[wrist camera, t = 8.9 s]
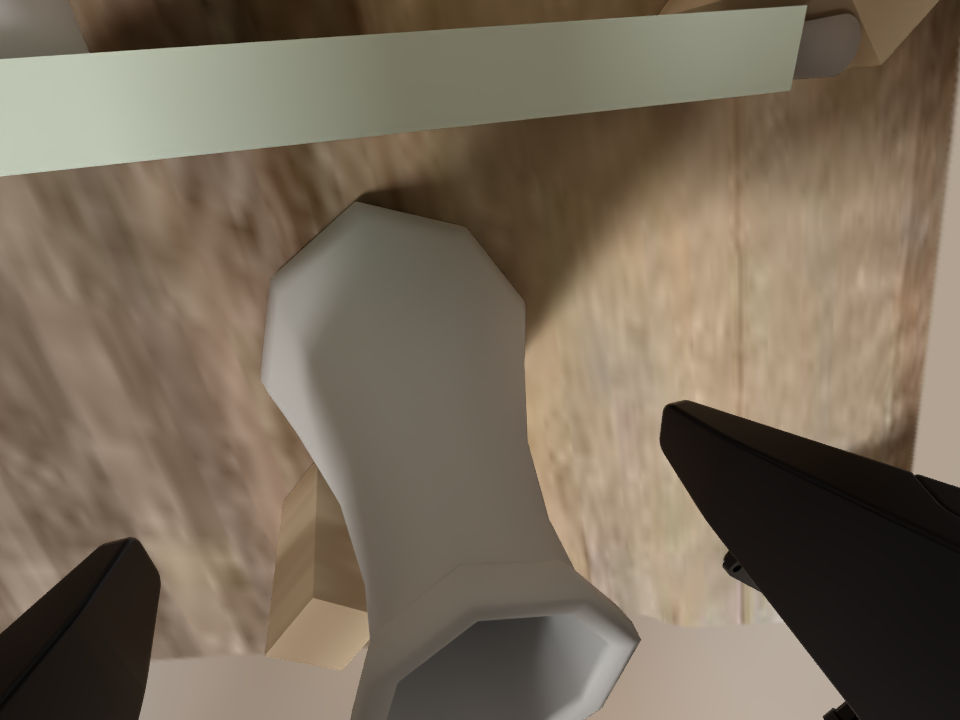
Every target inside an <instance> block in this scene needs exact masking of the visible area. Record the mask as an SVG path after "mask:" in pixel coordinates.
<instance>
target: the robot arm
mask: <svg viewBox="0 0 960 720" xmlns="http://www.w3.org/2000/svg"><path fill="white" fill-rule="evenodd" d="M660 445H661V449H662V451H663V453H664V455H665V456H666V458H667V459H668V461H669V463H670V464H671V466H672V467H673V469H674V471H675V472H676V474H677V475H678V477H679V479H680V480H681V482H682V483H683V485H684V487H685V488H686V490H687V491H688V493H689V495H690V496H691V498H692V499H693V501H694V503H695V504H696V506H697V507H698V509H699V510H700V512H701V513H702V515H703V516H704V518H705V519H706V521H707V522H708V523H709V525H710V526H711V527H712V529H713V530H714V532H715V533H716V534H717V535H718V537H719V538H720V539H721V541H722V542H723V543H724V544H725V546H726V547H727V548H728V550H729V551H730V552H731V553H732V554H731V555H730V556H729V557H728V558H727V559H726V560H725V561H724V563H723V568H724V569H725V570H726V572H727V573H728V574H729V575H730V576H732V577H734V578H735V579H737V580H739V581H741V582H743V583H745V584H747V585H749V586H750V587H752V588H754V589H756V590H758V591H760V592H762V594H763V595H764V596H765V597H766V599H767V600H768V601H769V603H770V604H771V605H772V606H773V608H774V609H775V610H776V612H777V613H778V614H779V616H780V617H781V618H782V619H783V621H784V622H785V623H786V625H787V626H788V627H789V628H790V630H791V631H792V632H793V633H794V635H795V636H796V638H797V639H798V640H799V641H800V643H801V644H802V645H803V647H804V648H805V649H806V650H807V652H808V653H809V654H810V656H811V657H812V658H813V659H814V661H815V662H816V663H817V665H818V666H819V667H820V669H821V670H822V671H823V672H824V673H825V675H826V676H827V678H828V679H829V680H830V681H831V683H832V684H833V685H834V687H835V688H836V689H837V690H838V692H839V693H840V694H841V695H842V697H843V698H844V700H845V702H844V703H843V704H842V705H840V706H839V707H838V708H837V709H834V708H832V709H831V710H830V711H829V712H828V713H826V714H825V715H824V716H823V718H824V720H960V488H959V487H956V486H953V485H949V484H946V483H943V482H940V481H937V480H934V479H931V478H928V477H925V476H922V475H914V474H913V473H911V472H909V471H906V470H903V469H900V468H897V467H894V466H890V465H887V464H884V463H881V462H878V461H875V460H872V459H869V458H866V457H863V456H859V455H856V454H853V453H850V452H847V451H844V450H841V449H838V448H835V447H832V446H828V445H825V444H822V443H819V442H816V441H813V440H810V439H807V438H804V437H801V436H797V435H794V434H791V433H788V432H785V431H782V430H779V429H776V428H773V427H770V426H766V425H763V424H760V423H757V422H754V421H751V420H748V419H745V418H742V417H739V416H736V415H732V414H729V413H726V412H723V411H720V410H717V409H714V408H711V407H708V406H705V405H701V404H698V403H695V402H692V401H689V400H682V401H678V402H674V403H670V404H667V405H666V406H665V407H664V409H663V415H662V423H661V431H660ZM160 586H161V582H160V576H159V572H158V570H157V568H156V567H155V565H154V564H153V562H152V560H151V559H150V557H149V555H148V554H147V552H146V551H145V549H144V547H143V546H142V544H141V543H140V541H139V540H137V539H136V538H133V537H128V538H124V539H120V540H116V541H112V542H108V543H105V544H103V545H101V546H100V547H98V548H97V549H96V550H95V551H94V552H92V553H91V554H90V555H89V556H88V557H87V558H86V559H85V560H83V561H82V562H81V563H80V564H79V565H78V566H77V567H76V568H74V569H73V570H72V571H71V572H70V573H69V574H68V575H66V576H65V577H64V578H63V579H62V580H61V581H60V582H59V583H57V584H56V585H55V586H54V587H53V588H52V589H51V590H50V591H48V592H47V593H46V594H45V595H44V596H43V597H42V598H40V599H39V600H38V601H37V602H36V603H35V604H34V605H33V606H31V607H30V608H29V609H28V610H27V611H26V612H25V613H23V614H22V615H21V616H20V617H19V618H18V619H17V620H16V621H14V622H13V623H12V624H11V625H10V626H9V627H8V628H7V629H5V630H4V631H3V632H2V633H1V634H0V720H138V719H139V715H140V711H141V707H142V702H143V698H144V693H145V689H146V683H147V678H148V672H149V665H150V658H151V651H152V644H153V637H154V630H155V623H156V616H157V609H158V602H159V595H160Z"/></svg>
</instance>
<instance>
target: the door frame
mask: <svg viewBox="0 0 960 720" xmlns="http://www.w3.org/2000/svg"><path fill="white" fill-rule="evenodd" d="M938 1H939V0H669V1H668V2H667V4H666V5H665V6H664V7H663V9H662V10H661V11H660V13H659V14H658V15H668V14H683V13H698V12H713V11H728V10H743V9H758V8H773V7H788V6H803V5H807V10H806V15H805V20H804V25H803V30H802V35H801V40H800V45H799V50H798V55H797V60H796V65H795V71H794V76H793V79H807V78H822V77H833V76H836V75H838V74H840V73H841V72H843V71H844V70H845V69H846V68H857V67H869V66H881V65H882V64H883V63H884V62H885V61H886V60H887V59H888V57H889V56H890V55H891V54H892V53H893V52H894V51H895V50H896V48H897V47H898V46H899V45H900V44H901V43H902V42H903V41H904V40H905V38H906V37H907V36H908V35H909V34H910V33H911V32H912V31H913V29H914V28H915V27H916V26H917V25H918V24H919V23H920V22H921V20H922V19H923V18H924V17H925V16H926V15H927V14H928V13H929V12H930V10H931V9H932V8H933V7H934V6H935V5H936V4H937V3H938ZM369 639H370V636H369V625H368V614H367V602H366V591H365V584H364V581H363V577H362V574H361V571H360V568H359V564H358V561H357V558H356V554H355V551H354V548H353V545H352V541H351V538H350V535H349V532H348V528H347V525H346V522H345V518H344V515H343V512H342V509H341V505H340V503H339V502H338V500H337V498H336V497H335V495H334V493H333V492H332V490H331V488H330V487H329V485H328V483H327V482H326V480H325V478H324V477H323V475H322V473H321V472H320V470H319V468H318V467H317V465H316V464H315V462H314V463H313V464H312V466H311V467H310V468H309V470H308V471H307V472H306V473H305V475H304V476H303V477H302V479H301V480H300V481H299V483H298V484H297V485H296V486H295V488H294V489H293V490H292V492H291V493H290V494H289V496H288V497H287V498H286V500H285V501H284V502H283V507H282V515H281V524H280V532H279V540H278V549H277V557H276V565H275V574H274V582H273V590H272V599H271V607H270V615H269V624H268V632H267V640H266V649H265V656H268V657H273V658H280V659H284V660H289V661H294V662H299V663H305V664H310V665H315V666H320V667H326V668H331V669H336V670H342V669H343V668H344V667H345V666H346V665H347V664H348V663H349V662H350V660H351V659H352V658H353V657H354V656H355V655H356V654H357V652H359V650H360V649H361V648H362V647H363V646H364V645H365V644H366V643H367V641H368V640H369Z"/></svg>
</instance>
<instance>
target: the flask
mask: <svg viewBox="0 0 960 720" xmlns="http://www.w3.org/2000/svg"><path fill="white" fill-rule="evenodd" d="M525 323H526V313H525V301H524V300H523V299H522V298H521V296H520V295H519V294H518V292H517V291H516V290H515V289H514V287H513V286H512V285H511V283H510V282H509V281H508V280H507V278H506V277H505V276H504V275H503V273H502V272H501V271H500V269H499V268H498V267H497V266H496V264H495V263H494V262H493V261H492V259H491V258H490V257H489V255H488V254H487V253H486V252H485V250H484V249H483V248H482V246H481V245H480V244H479V243H478V241H477V240H476V239H475V238H474V236H473V235H472V234H471V232H470V231H469V230H468V229H467V227H464V226H460V225H456V224H451V223H447V222H443V221H438V220H434V219H430V218H425V217H421V216H417V215H412V214H408V213H404V212H399V211H395V210H391V209H387V208H382V207H378V206H374V205H369V204H365V203H361V202H356V201H355V202H354V203H353V204H352V205H351V206H350V207H348V208H347V209H346V210H345V211H344V212H343V213H342V214H341V215H340V216H338V217H337V218H336V219H335V220H334V221H333V222H332V223H331V224H330V225H329V226H327V227H326V228H325V229H324V230H323V231H322V232H321V233H320V234H319V235H318V236H316V237H315V238H314V239H313V240H312V241H311V242H310V243H309V244H308V245H306V246H305V247H304V248H303V249H302V250H301V251H300V252H299V253H298V254H297V255H295V256H294V257H293V258H292V259H291V260H290V261H289V262H288V263H287V264H285V265H284V266H283V267H282V268H281V269H280V270H279V271H278V272H277V273H276V274H274V275H273V276H272V277H271V278H270V284H269V294H268V305H267V315H266V325H265V336H264V346H263V356H262V367H261V377H260V380H261V381H262V383H263V385H264V386H265V388H266V390H267V391H268V393H269V394H270V396H271V397H272V399H273V400H274V401H275V403H276V404H277V406H278V407H279V408H280V410H281V411H282V413H283V414H284V415H285V417H286V418H287V420H288V421H289V422H290V424H291V425H292V427H293V428H294V429H295V431H296V432H297V434H298V435H299V437H300V439H301V440H302V442H303V444H304V445H305V447H306V449H307V450H308V452H309V454H310V455H311V457H312V459H313V460H314V462H315V464H316V465H317V467H318V468H319V470H320V472H321V473H322V475H323V477H324V478H325V480H326V482H327V483H328V485H329V487H330V488H331V490H332V492H333V493H334V495H335V497H336V498H337V500H338V502H339V503H340V505H341V509H342V512H343V515H344V518H345V522H346V525H347V528H348V532H349V535H350V538H351V541H352V545H353V548H354V551H355V554H356V558H357V561H358V564H359V568H360V571H361V574H362V577H363V581H364V584H365V591H366V602H367V614H368V625H369V636H370V643H369V647H368V651H367V655H366V659H365V662H364V667H363V670H362V674H361V678H360V682H359V686H358V690H357V694H356V698H355V702H354V705H353V709H352V715H351V720H586V719H587V718H588V717H590V716H591V715H592V714H594V713H595V712H596V711H598V710H599V709H601V708H602V707H603V705H604V703H605V701H606V700H607V698H608V696H609V694H610V693H611V691H612V689H613V687H614V686H615V684H616V682H617V681H618V679H619V677H620V675H621V673H622V672H623V670H624V668H625V667H626V665H627V663H628V662H629V660H630V658H631V656H632V655H633V653H634V651H635V649H636V647H637V646H638V644H639V642H640V641H641V639H640V637H639V635H638V633H637V631H636V629H635V627H634V625H633V623H632V621H631V620H630V619H629V618H628V617H627V616H626V615H625V614H624V613H623V611H622V610H621V609H620V608H619V607H618V606H617V605H616V604H615V603H613V602H612V601H611V600H610V599H609V598H608V597H606V596H605V595H604V594H603V593H602V592H600V591H599V590H598V589H597V588H596V587H594V586H593V585H592V584H591V583H590V582H588V581H587V580H586V579H585V578H584V577H582V576H581V575H580V574H579V573H578V572H576V571H575V569H574V567H573V565H572V563H571V561H570V559H569V557H568V556H567V554H566V552H565V550H564V548H563V546H562V544H561V542H560V540H559V538H558V536H557V534H556V532H555V530H554V528H553V526H552V524H551V522H550V520H549V518H548V514H547V510H546V507H545V503H544V499H543V496H542V492H541V489H540V485H539V481H538V478H537V474H536V470H535V467H534V463H533V459H532V456H531V452H530V449H529V445H528V439H527V415H526V392H525V368H524V358H525Z"/></svg>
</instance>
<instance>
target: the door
mask: <svg viewBox="0 0 960 720" xmlns="http://www.w3.org/2000/svg"><path fill="white" fill-rule="evenodd" d="M806 10H807V5H803V6H788V7H773V8H758V9H743V10H728V11H713V12H698V13H683V14H668V15H653V16H638V17H623V18H609V19H594V20H579V21H564V22H549V23H534V24H519V25H504V26H489V27H474V28H459V29H444V30H429V31H414V32H399V33H384V34H369V35H354V36H339V37H324V38H309V39H294V40H279V41H265V42H250V43H235V44H220V45H205V46H190V47H175V48H160V49H145V50H130V51H115V52H100V53H89V50H88V48H87V45H86V43H85V40H84V38H83V35H82V33H81V30H80V28H79V25H78V23H77V20H76V18H75V15H74V13H73V10H72V8H71V5H70V3H69V0H0V176H8V175H18V174H27V173H36V172H45V171H55V170H64V169H73V168H82V167H92V166H101V165H110V164H119V163H129V162H138V161H147V160H156V159H166V158H175V157H184V156H193V155H203V154H212V153H221V152H230V151H240V150H249V149H258V148H267V147H277V146H286V145H295V144H304V143H314V142H323V141H332V140H341V139H351V138H360V137H369V136H378V135H388V134H397V133H406V132H415V131H424V130H434V129H443V128H452V127H461V126H471V125H480V124H489V123H498V122H508V121H517V120H526V119H535V118H545V117H554V116H563V115H572V114H582V113H591V112H600V111H609V110H619V109H628V108H637V107H646V106H656V105H665V104H674V103H683V102H693V101H702V100H711V99H720V98H730V97H739V96H748V95H757V94H767V93H776V92H785V91H791V86H792V81H793V76H794V71H795V65H796V60H797V55H798V50H799V45H800V40H801V35H802V30H803V25H804V20H805V15H806Z"/></svg>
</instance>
